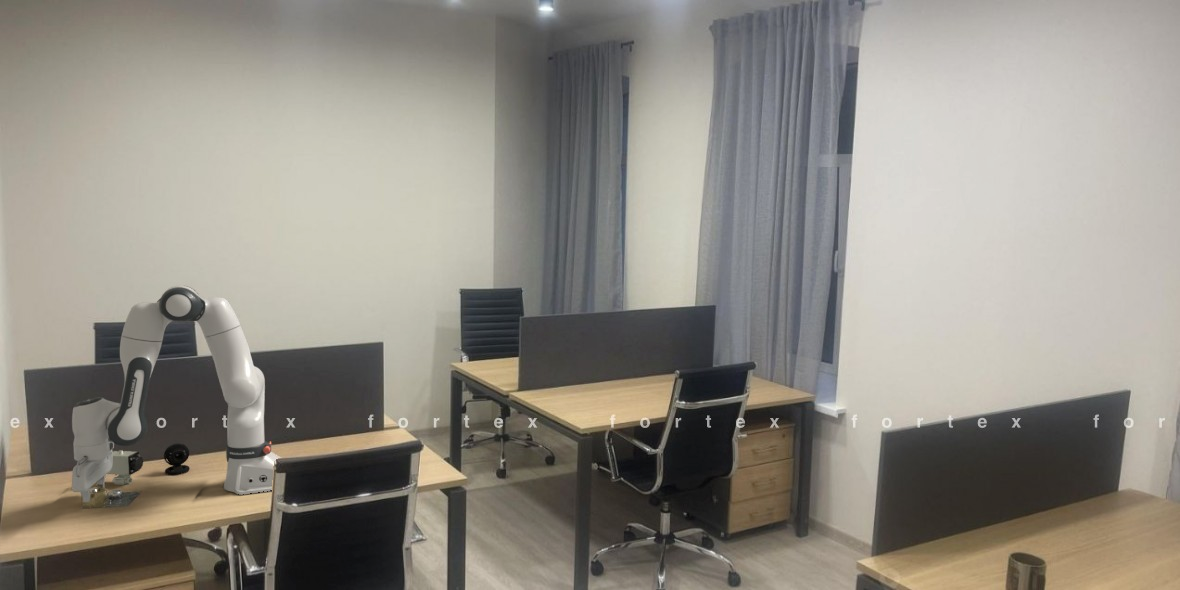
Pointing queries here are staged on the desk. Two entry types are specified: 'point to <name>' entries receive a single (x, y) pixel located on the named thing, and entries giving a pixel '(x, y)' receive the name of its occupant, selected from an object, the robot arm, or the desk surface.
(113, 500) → the carrier
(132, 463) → the pneumatic valve
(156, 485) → the desk surface
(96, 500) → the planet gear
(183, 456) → the webcam
